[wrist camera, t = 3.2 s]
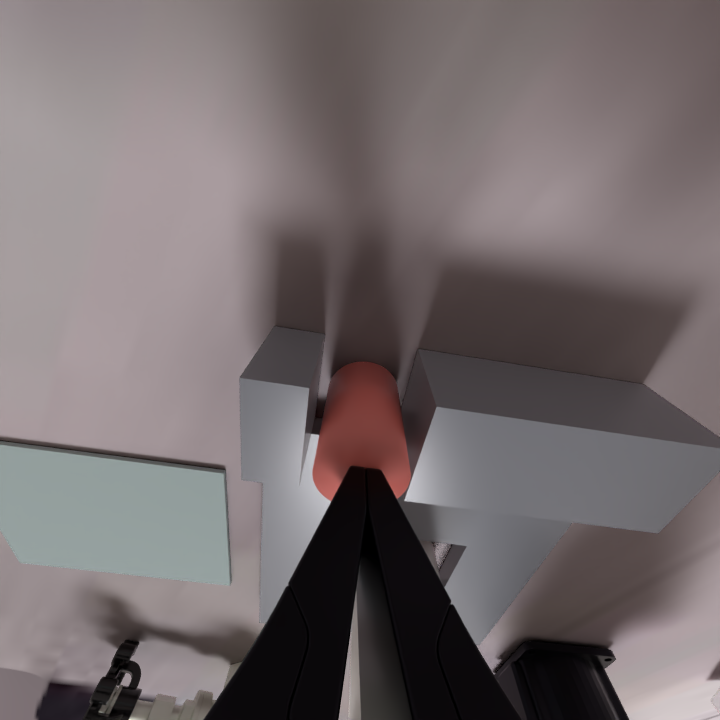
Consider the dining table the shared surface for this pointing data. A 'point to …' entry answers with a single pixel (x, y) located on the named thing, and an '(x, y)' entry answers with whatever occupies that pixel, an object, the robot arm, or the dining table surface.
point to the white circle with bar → (716, 700)
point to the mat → (114, 514)
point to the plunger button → (361, 429)
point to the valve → (121, 705)
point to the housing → (476, 464)
